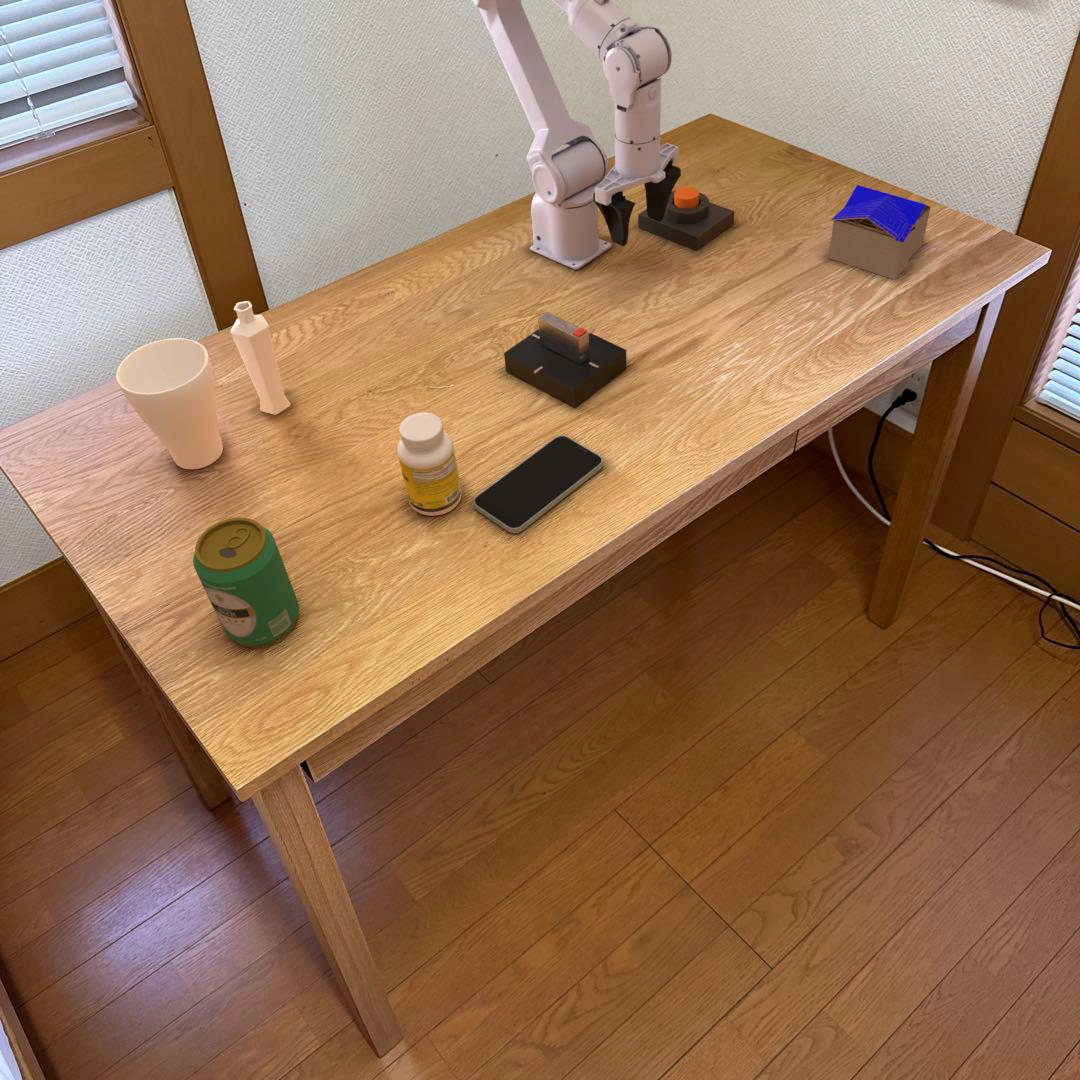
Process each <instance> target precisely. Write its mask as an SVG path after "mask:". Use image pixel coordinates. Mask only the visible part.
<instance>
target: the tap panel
mask: <svg viewBox="0 0 1080 1080" xmlns="http://www.w3.org/2000/svg"><path fill="white" fill-rule="evenodd" d="M588 332H589V351H590V358H589V359H588V360H586V361H585V362H584V363H582V364H581V365H580V364H578V363H576V362H574V361H572V360H570V359H568V358H566V357H564V356H562V355H561V354H559V353H557V352H555V351H553V350H551V349H549V348H547V347H545V346H543V345H541V344H540V336H539V328H538V329H536V330H535V331H534V332H532V333H531V334H529V335H527V336H526V337H525V338H523V339H522V340H521V341H519V342H518V343H516V344H515V345H513V346H512V347H510V348H509V349H508V350H506V351H505V352H504V353H503V358H504V365H505V366H504V367H505V372H506V373H507V374H509V375H512V376H514V377H515V378H517V379H518V380H521V381H523V382H525V383H526V384H529V385H530V386H532V387H534V388H536V389H537V390H539V391H542V392H543V393H545V394H547V395H549V396H551V397H553V398H555V399H556V400H559V401H560V402H563V403H564V404H566V405H568V406H570V407H572V408H573V409H576V408H578V407H579V406H580V405H582V404H583V403H584V402H585V401H587V400H588V399H590V398H591V397H592V396H593V395H594V394H596V393H597V392H598V391H600V390H601V389H602V388H604V387H605V386H606V385H608V384H610V382H611V381H612V380H614V379H615V378H616V377H618V376H619V375H620V374H622V373H623V372H624V371H626V370H627V366H628V365H627V349H625V348H623V347H621V346H619V345H616V344H614V343H613V342H611V341H609V340H607V339H604V338H602V337H600V336H599V335H596V334H594V332H595V329H593V328H592V329H590V330H589V331H588Z"/></svg>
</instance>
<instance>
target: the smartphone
mask: <svg viewBox="0 0 1080 1080" xmlns="http://www.w3.org/2000/svg"><path fill="white" fill-rule="evenodd" d="M603 467H604V461H603V457H602V456H601V455H599V454H598V453H596V452H594V451H593V450H591V449H589V448H588V447H586V446H584V445H583V444H582V443H579V442H577V441H576V440H574V439H573V438H571V437H569V436H567V435H558V436H556V437H553V439H551V440H549V441H548V442H547V443H545V444H544V445H543V446H542V447H540V448H539V449H538V450H536V451H535V452H534V453H532V454H531V455H530V456H528V457H527V458H525V459H524V460H523V461H521V462H520V463H519V464H517V465H516V466H515V467H514V468H512V469H511V470H509V471H508V472H507V473H506V474H504V475H503V476H502V477H500V478H499V479H497V480H496V481H495V482H493V483H492V484H491V485H489V486H488V487H486V488H485V489H483V491H482V492H479V494H478V495H476V496H475V497H474V499H473V505H474V509H475V510H476V511H477V512H478V513H480V514H481V515H483V516H484V517H485V518H487V519H489V520H491V521H492V522H493V523H494V524H496V525H498V526H499V527H500V528H502V529H504V530H505V531H506V532H508V533H510V534H519V533H522V532H524V530H525V529H527V528H528V527H529V526H531V525H532V524H533V523H534V522H536V521H537V520H538V519H539V518H540V517H541V518H542V516H543V515H544V514H545V513H547V512H548V511H550V510H551V509H553V508H554V507H555V506H556V505H557V504H558V503H560V502H562V500H564V499H565V498H566V497H568V496H569V495H570V494H571V493H573V492H574V491H575V490H577V488H578V487H580V486H581V485H582V484H584V483H585V482H586V481H588V480H589V479H590V478H591V477H593V476H594V475H596V473H598V472H599V471H600V470H601V469H602V468H603Z"/></svg>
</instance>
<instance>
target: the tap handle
mask: <svg viewBox="0 0 1080 1080" xmlns="http://www.w3.org/2000/svg"><path fill="white" fill-rule="evenodd" d="M537 323H538V329H539V336H540V344H541V345H543V346H545V347H547V348H549V349H551V350H553V351H555V352H557V353H559V354H561V355H562V356H564V357H566V358H568V359H570V360H572V361H574V362H576V363H578V364H580V365H581V364H582V363H584V362H585V361H586V360H588V359H589V358H590V351H589V331H588V330H587V329H585V328H583V327H581V326H580V327H579V326H577V325H575V324H573V323H572V322H570V321H567V320H565V319H563V318H561V317H559V316H557V315H555V314H553V313H551V312H549V311H547V312H545V313H543V314H542V315H541V316H539V317H538V318H537Z"/></svg>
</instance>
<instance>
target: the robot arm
mask: <svg viewBox="0 0 1080 1080" xmlns="http://www.w3.org/2000/svg"><path fill="white" fill-rule="evenodd" d="M472 2H473V4H474V7H476V8H478V10H479V14H480V15H481V17H482V20H483V21H484V24H485V26H486V28H487V31H488V33H489V35H490V38H491V40H492V43H493V44H494V46H495V49H496V51H497V53H498V55H499V58H500V60H501V62H502V65H503V67H504V69H505V71H506V74H507V75H508V78H509V80H510V82H511V85H512V87H513V89H514V91H515V93H516V96H517V98H518V100H519V103H520V105H521V108H522V110H523V112H524V114H525V116H526V119H527V121H528V124H529V126H530V127H531V130H532V132H533V134H534V138H533V141H532V143H531V144H530V145H531V146H530V148H529V150H528V152H527V155H526V157H525V158H526V161H527V164H528V166H529V169H530V173H531V180H532V184H533V187H534V190H535V193H534V194H533V197H532V201H531V206H530V216H531V227H532V239H533V244H532V245H530V246H529V250H530V251H532V252H534V253H536V254H537V255H538V254H539V255H541V256H543V257H546V258H548V259H550V260H551V261H552V260H553V261H555V262H557V263H559V264H561V265H564V266H566V267H568V268H571V269H573V270H575V271H577V270H580V269H581V268H583V267H584V266H585V265H587V264H589V263H590V262H591V261H593V260H595V259H596V258H597V257H599V256H601V255H602V254H603V253H605V252H606V251H608V250H610V249H611V248H612V243H613V244H616V245H618V246H621V247H625V246H626V245H628V241H629V231H630V220H631V216H632V213H633V210H634V208H635V205H636V202H634V201H631V200H629V199H627V198H626V195H624V192H625V191H626V190H628V189H629V190H630V189H632V188H635V187H638V186H641V185H644V191H645V201H646V204H645V205H646V209H647V214H648V218H651V219H653V220H656V221H658V222H661V221H662V220H663V217H664V214H665V211H666V207H667V204H668V200H669V197H670V195H671V192H673V191H674V187H675V186H676V184H677V182H678V180H680V177H681V176H682V169H681V167H678V166H676V165H673V164H675V163H676V162H678V161H679V146H676V145H674V144H671V143H669V142H666V143H664V144H662V145H661V116H662V115H661V110H662V109H661V107H662V106H661V105H662V104H661V103H662V78H661V77H662V76H663V75H665V74H666V73H668V72H669V70H670V69H671V65H672V60H673V54H672V53H673V52H672V48H671V44H670V42H669V40H668V38H667V36H666V35H665V34H664V33H663V32H662V30H661V28H660V27H658V26H656V25H653V24H647V25H645V24H643V23H642V22H635V21H634V19H632V18H631V17H630V16H629V14H627V13H626V12H625V11H624V10H623V9H622V8H621V7H620V6H618V5H617V3H616V2H614V0H550V2H552V3H553V4H554V5H555V6H557V7H558V8H559V9H561V11H563V12H564V13H565V14H566V15H567V24H568V25H567V26H568V28H569V31H570V32H571V33H572V34H574V36H575V37H576V38H577V39H578V40H579V41H580V42H582V44H584V46H586V48H588V50H590V52H592V53H593V54H594V55H595V56H596V57H597V58H598V59H599V61H601V64H602V71H603V73H604V77H605V79H606V81H607V83H608V86H609V97H610V98H611V101H612V103H613V111H614V115H613V116H614V120H613V121H614V164H613V166H612V168H611V169H610V170H609V159H608V155H607V152H606V150H605V149H604V148H603V146H602V145H601V144H600V143H599V141H598V140H597V138H596V137H595V136H594V134H593V132H592V129H591V127H590V126H589V125H587V124H585V123H583V122H580V121H577V120H575V119H573V118H571V116H570V114H569V111H568V109H567V107H566V104H565V102H564V100H563V97H562V95H561V93H560V90H559V89H558V86H557V84H556V81H555V79H554V77H553V74H552V72H551V70H550V68H549V66H548V63H547V60H546V58H545V56H544V54H543V52H542V49H541V47H540V45H539V42H538V40H537V38H536V35H535V33H534V31H533V28H532V26H531V24H530V21H529V19H528V17H527V14H526V11H525V10H524V8H523V5H522V0H472ZM565 145H566V146H567V145H568V146H567V147H565V148H563V149H561V150H559V151H558V152H555V153H554V151H555V150H556V149H557V148H560V147H562V146H565ZM598 210H599V211H600V213H601V214H602V217H603V219H604V221H605V224H606V226H607V229H608V232H609V236H610V239H611V242H608V241H606V240H604V239H601V238H600V237H599V215H598V214H599V211H598Z"/></svg>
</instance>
